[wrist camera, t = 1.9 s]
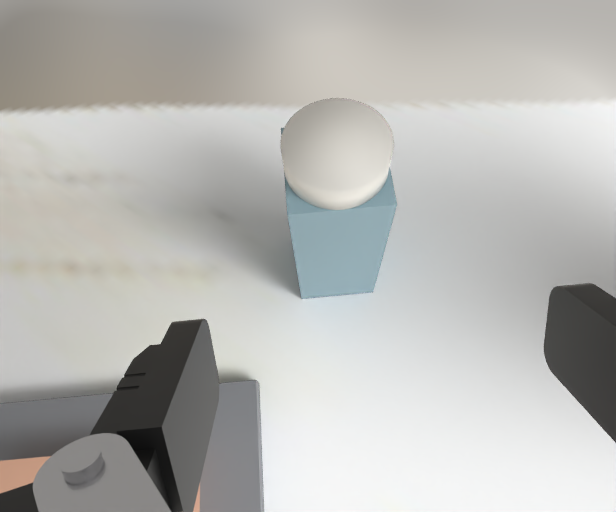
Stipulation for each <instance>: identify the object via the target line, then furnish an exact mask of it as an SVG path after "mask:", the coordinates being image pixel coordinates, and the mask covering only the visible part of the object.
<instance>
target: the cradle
mask: <svg viewBox="0 0 616 512" xmlns="http://www.w3.org/2000/svg"><path fill="white" fill-rule="evenodd" d="M112 395H113V393H109V394H98V395H87V396H77V397H66V398H55V399H44V400H33V401H23V402H12V403H1V404H0V493H3V492H6V491H9V490H12V489H15V488H18V487H21V486H24V485H27V484H30V483H33V481H34V479H35V476H36V474H37V472H38V471H39V469H40V468H41V466H42V465H43V464H44V463H45V462H46V461H47V460H48V459H49V458H50V457H51V456H52V455H53V454H55V453H56V452H57V451H58V450H60V449H61V448H63V447H64V446H66V445H68V444H70V443H72V442H74V441H76V440H78V439H81V438H84V437H87V436H89V435H90V433H91V431H92V430H93V428H94V426H95V424H96V423H97V421H98V419H99V418H100V416H101V414H102V412H103V411H104V409H105V407H106V405H107V404H108V402H109V400H110V399H111V397H112ZM193 512H264V497H263V471H262V445H261V418H260V392H259V382H258V381H257V380H249V381H239V382H228V383H219V402H218V407H217V411H216V415H215V419H214V424H213V428H212V432H211V437H210V441H209V445H208V450H207V454H206V458H205V463H204V467H203V471H202V476H201V480H200V484H199V488H198V493H197V497H196V501H195V506H194V510H193Z"/></svg>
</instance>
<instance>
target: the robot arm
mask: <svg viewBox="0 0 616 512" xmlns="http://www.w3.org/2000/svg"><path fill="white" fill-rule="evenodd" d="M544 354H545V358H546V362H547V364H548V366H549V368H550V370H551V372H552V373H553V374H554V375H555V376H556V377H557V378H558V380H559V381H560V382H561V383H562V384H563V385H564V386H565V387H566V388H567V389H568V391H569V392H570V393H571V394H572V395H573V396H574V397H575V398H576V399H577V401H578V402H579V403H580V404H581V405H582V406H583V407H584V408H585V409H586V410H587V412H588V413H589V414H590V415H591V416H592V417H593V418H594V419H595V420H596V421H597V423H598V424H599V425H600V426H601V427H602V428H603V429H604V430H605V431H606V432H607V434H608V435H609V436H610V437H611V438H612V439H613V440H614V441H615V442H616V298H614V297H613V296H611V295H609V294H608V293H606V292H605V291H603V290H602V289H600V288H599V287H597V286H596V285H594V284H591V283H587V284H576V285H566V286H557V287H555V288H553V290H552V291H551V294H550V298H549V306H548V314H547V323H546V332H545V340H544ZM218 402H219V378H218V372H217V367H216V361H215V356H214V351H213V346H212V340H211V335H210V330H209V326H208V323H207V321H206V319H198V320H187V321H177V322H172V323H171V325H170V327H169V329H168V331H167V333H166V334H165V336H164V338H163V340H162V342H161V344H159V345H150V346H149V347H147V348H146V349H145V350H144V351H143V352H141V353H140V354H139V355H138V356H137V357H135V358H134V359H133V361H132V362H131V364H130V366H129V367H128V369H127V371H126V373H125V374H124V378H122V380H121V381H120V383H119V385H118V386H117V391H115V392H114V393H113V395H112V397H111V399H110V400H109V402H108V404H107V405H106V407H105V409H104V411H103V412H102V414H101V416H100V418H99V419H98V421H97V423H96V424H95V426H94V428H93V430H92V431H91V433H90V435H89V436H87V437H84V438H81V439H78V440H76V441H74V442H72V443H70V444H68V445H66V446H64V447H63V448H61V449H60V450H58V451H57V452H56V453H55V454H53V455H52V456H51V457H50V458H49V459H48V460H47V461H46V462H45V463H44V464H43V465H42V466H41V468H40V469H39V471H38V472H37V474H36V476H35V479H34V481H33V483H30V484H27V485H24V486H21V487H18V488H15V489H12V490H9V491H6V492H3V493H0V512H193V510H194V506H195V501H196V497H197V493H198V488H199V484H200V480H201V476H202V471H203V467H204V463H205V458H206V454H207V450H208V445H209V441H210V437H211V432H212V428H213V424H214V419H215V415H216V411H217V407H218Z"/></svg>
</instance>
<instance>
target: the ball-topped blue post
mask: <svg viewBox="0 0 616 512" xmlns="http://www.w3.org/2000/svg"><path fill="white" fill-rule="evenodd" d="M281 135H282V136H281V153H282V159H283V166H284V175H285V188H286V202H287V215H288V221H289V227H290V233H291V239H292V245H293V251H294V257H295V263H296V269H297V275H298V281H299V287H300V293H301V299H305V298H316V297H327V296H338V295H348V294H359V293H370V292H373V290H374V287H375V283H376V279H377V276H378V272H379V268H380V265H381V261H382V257H383V254H384V250H385V247H386V243H387V239H388V236H389V232H390V228H391V225H392V221H393V217H394V214H395V210H396V206H397V202H396V197H395V192H394V187H393V181H392V176H391V171H390V163H391V158H392V153H393V148H394V140H393V134H392V131H391V129H390V126H389V125H388V123H387V121H386V120H385V119H384V118H383V116H382V115H381V114H379V113H378V112H377V111H376V110H375V109H373V108H372V107H370V106H368V105H366V104H364V103H361V102H359V101H355V100H351V99H344V98H331V99H325V100H320V101H316V102H314V103H311V104H309V105H307V106H305V107H303V108H302V109H300V110H299V111H298V112H296V113H295V114H294V115H293V116H292V117H291V118H290V120H289V121H288V122H287V124H286V126H285V128H281Z"/></svg>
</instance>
